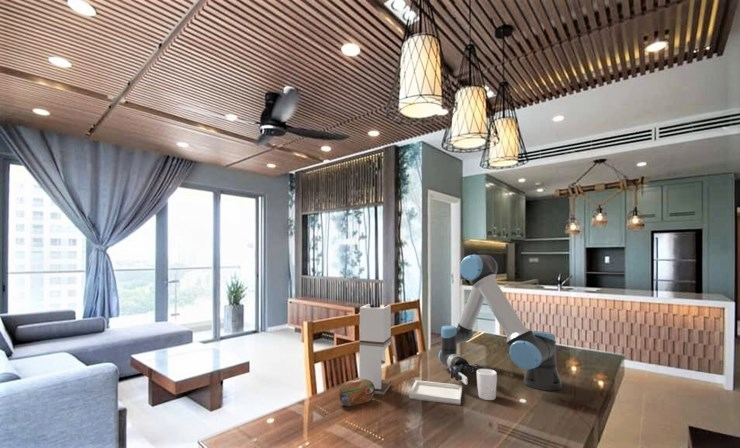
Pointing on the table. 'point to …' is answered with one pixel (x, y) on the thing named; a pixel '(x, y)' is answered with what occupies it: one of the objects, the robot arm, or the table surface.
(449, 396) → the tray
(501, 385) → the table surface
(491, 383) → the white cup
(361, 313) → the white tall box
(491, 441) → the table surface
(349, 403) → the tin
